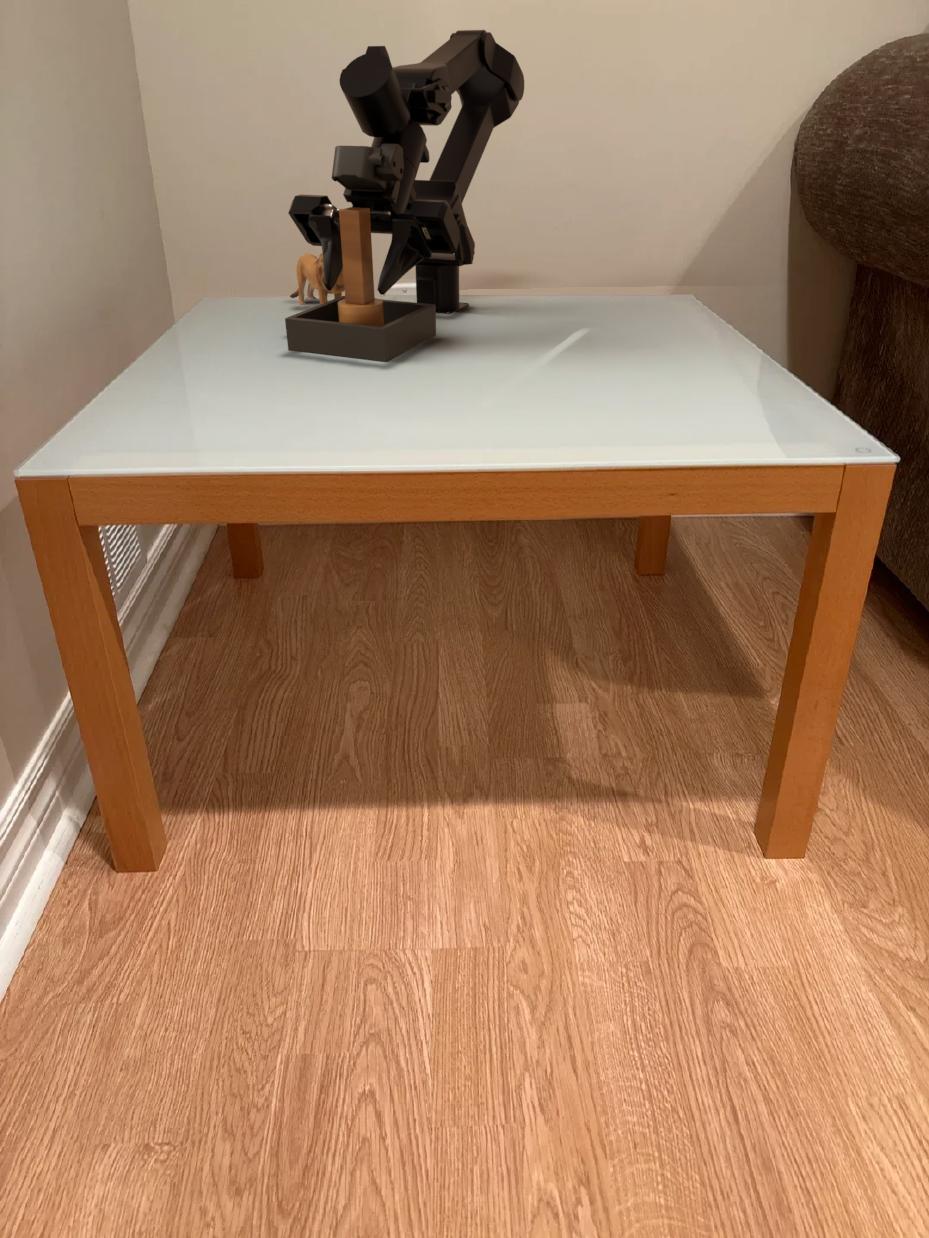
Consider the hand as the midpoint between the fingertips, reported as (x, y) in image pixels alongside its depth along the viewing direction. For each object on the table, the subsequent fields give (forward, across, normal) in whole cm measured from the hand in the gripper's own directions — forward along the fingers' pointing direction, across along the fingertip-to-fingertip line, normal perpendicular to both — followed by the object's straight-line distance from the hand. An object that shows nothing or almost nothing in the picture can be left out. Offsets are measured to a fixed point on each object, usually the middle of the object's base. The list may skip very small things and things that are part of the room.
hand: (353, 290), depth 100 cm
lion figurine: (-8, -14, +18) cm, 25 cm away
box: (+3, -1, +8) cm, 8 cm away
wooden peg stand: (+4, 0, +6) cm, 7 cm away
